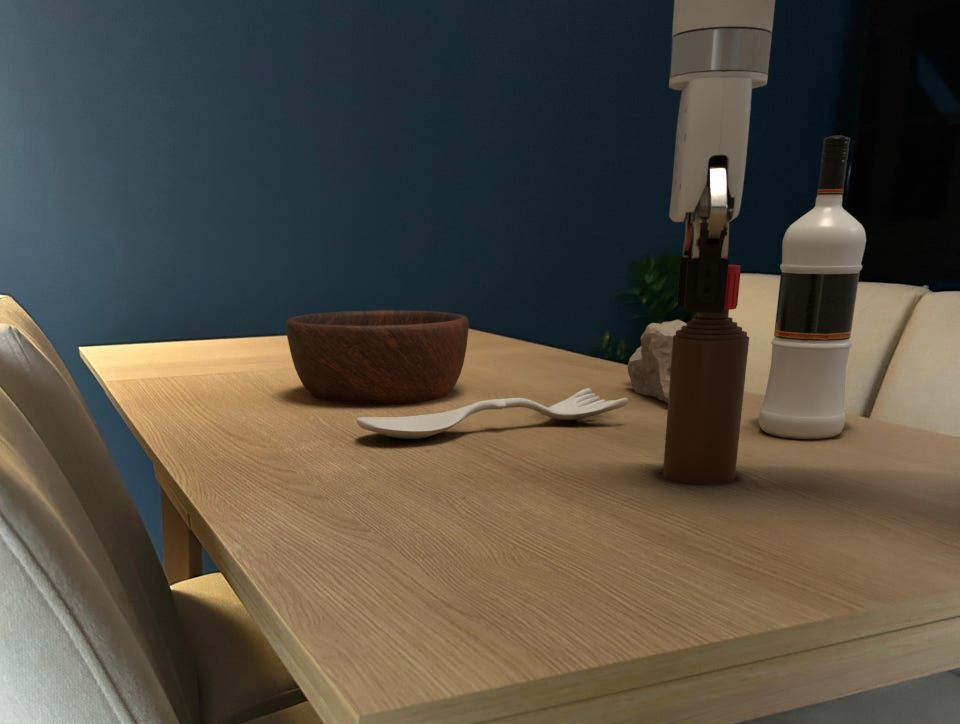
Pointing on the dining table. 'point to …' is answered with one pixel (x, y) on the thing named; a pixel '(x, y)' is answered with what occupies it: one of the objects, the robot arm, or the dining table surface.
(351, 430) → the dining table surface
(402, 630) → the dining table surface
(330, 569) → the dining table surface
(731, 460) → the sauce bottle
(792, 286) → the vodka
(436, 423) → the white spork
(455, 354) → the wooden bowl
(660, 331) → the decorative stone
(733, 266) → the cap
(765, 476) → the dining table surface
